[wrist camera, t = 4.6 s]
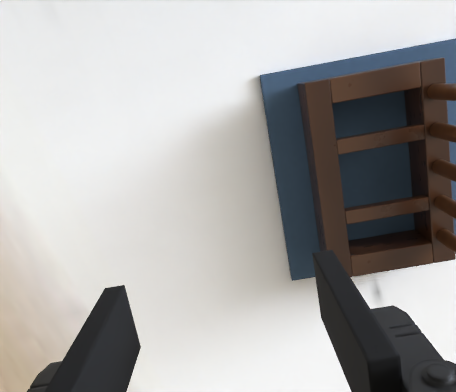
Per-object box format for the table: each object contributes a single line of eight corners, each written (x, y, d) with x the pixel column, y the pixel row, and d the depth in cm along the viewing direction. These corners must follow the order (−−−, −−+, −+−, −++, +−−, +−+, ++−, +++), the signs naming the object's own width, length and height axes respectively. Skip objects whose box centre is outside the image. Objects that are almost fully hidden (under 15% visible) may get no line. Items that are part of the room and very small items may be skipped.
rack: (321, 264, 34) (357, 332, 25) (296, 83, 31) (328, 83, 22) (436, 244, 34) (516, 306, 25) (424, 59, 31) (512, 49, 21)
